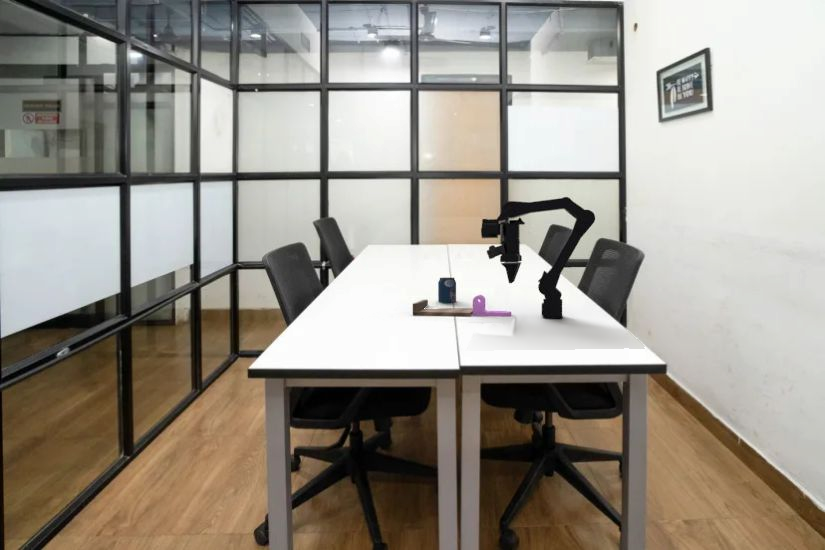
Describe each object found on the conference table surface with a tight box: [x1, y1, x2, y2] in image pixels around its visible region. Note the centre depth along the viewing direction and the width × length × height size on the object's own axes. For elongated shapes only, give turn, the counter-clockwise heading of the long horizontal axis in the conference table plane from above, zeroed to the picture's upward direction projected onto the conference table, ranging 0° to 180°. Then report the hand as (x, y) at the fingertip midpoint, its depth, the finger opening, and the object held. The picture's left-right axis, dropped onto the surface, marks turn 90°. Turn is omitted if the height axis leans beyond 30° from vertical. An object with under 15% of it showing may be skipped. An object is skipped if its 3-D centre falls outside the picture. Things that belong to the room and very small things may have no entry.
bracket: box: [472, 294, 512, 317], centre depth 202 cm, size 13×6×7 cm, turn 77°
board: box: [412, 299, 473, 317], centre depth 209 cm, size 20×18×4 cm
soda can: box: [437, 277, 457, 304], centre depth 225 cm, size 7×7×12 cm
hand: (511, 282), depth 203 cm, fingers open, 9 cm apart
